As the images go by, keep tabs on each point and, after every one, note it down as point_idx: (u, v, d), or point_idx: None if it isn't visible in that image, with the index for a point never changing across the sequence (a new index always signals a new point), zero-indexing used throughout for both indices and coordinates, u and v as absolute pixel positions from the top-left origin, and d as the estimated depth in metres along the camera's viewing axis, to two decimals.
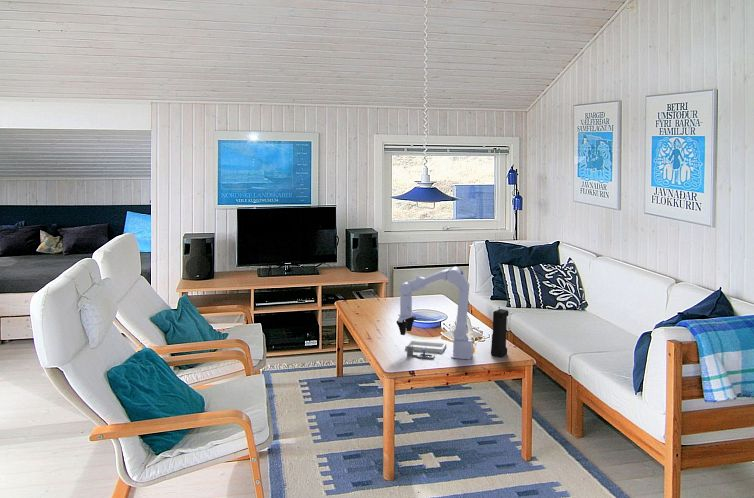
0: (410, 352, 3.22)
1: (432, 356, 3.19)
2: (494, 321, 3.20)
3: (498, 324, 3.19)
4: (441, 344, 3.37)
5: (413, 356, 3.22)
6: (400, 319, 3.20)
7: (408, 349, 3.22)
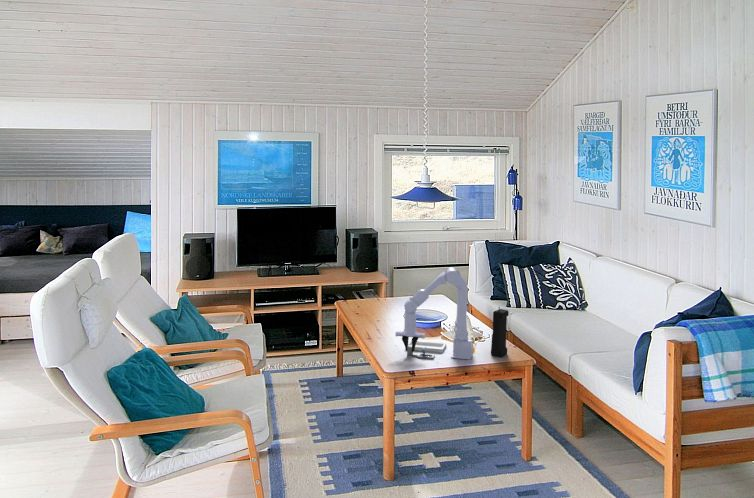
0: (410, 352, 3.22)
1: (432, 356, 3.19)
2: (494, 321, 3.20)
3: (498, 324, 3.19)
4: (441, 344, 3.37)
5: (413, 356, 3.22)
6: None
7: (408, 349, 3.22)
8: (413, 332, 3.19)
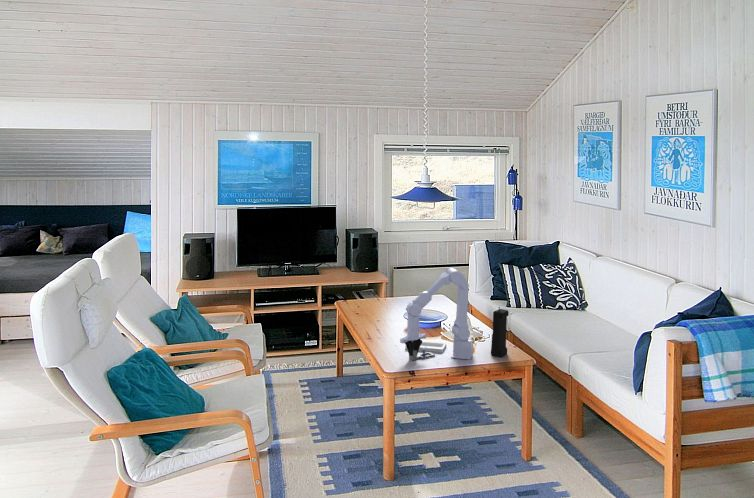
0: (415, 355, 3.17)
1: (432, 353, 3.24)
2: (494, 321, 3.20)
3: (498, 324, 3.19)
4: (441, 344, 3.37)
5: None
6: (401, 340, 3.12)
7: (414, 353, 3.16)
8: (419, 334, 3.15)
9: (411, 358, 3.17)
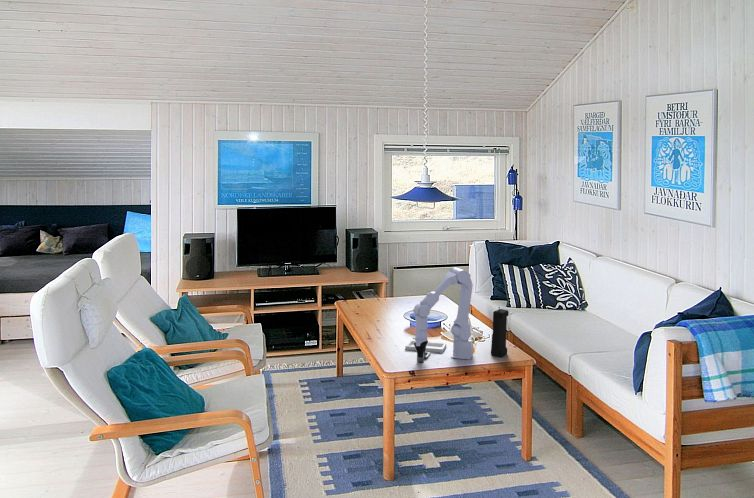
0: (423, 356, 3.15)
1: (427, 352, 3.25)
2: (494, 321, 3.20)
3: (498, 324, 3.19)
4: (441, 344, 3.37)
5: None
6: (418, 343, 3.06)
7: (423, 354, 3.14)
8: None
9: (420, 360, 3.14)
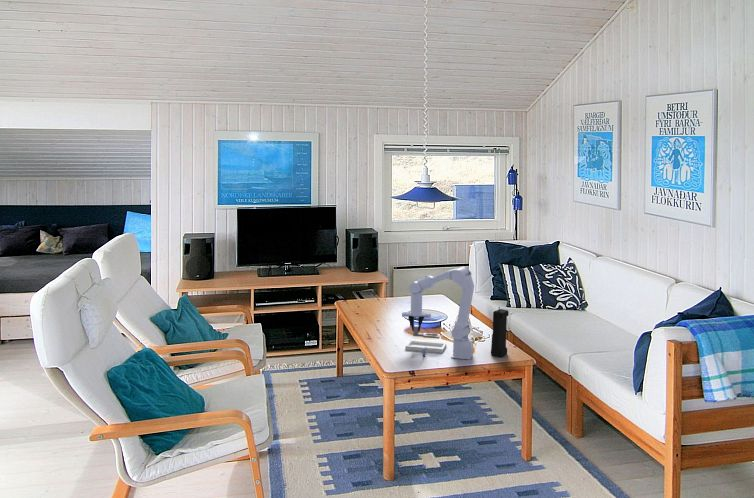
0: (416, 331, 3.32)
1: (438, 335, 3.31)
2: (494, 321, 3.20)
3: (498, 324, 3.19)
4: (441, 344, 3.37)
5: (419, 335, 3.33)
6: (402, 313, 3.33)
7: (415, 329, 3.32)
8: (419, 312, 3.30)
9: None
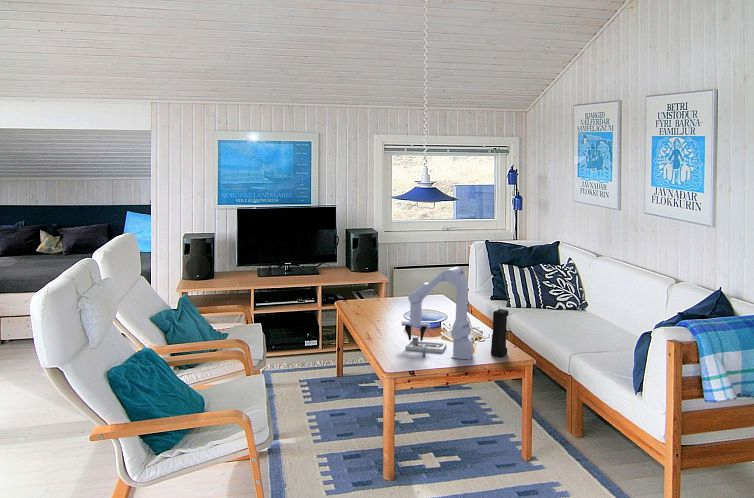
0: (415, 343, 3.35)
1: (436, 346, 3.33)
2: (494, 321, 3.20)
3: (498, 324, 3.19)
4: (441, 344, 3.37)
5: (418, 346, 3.36)
6: None
7: (413, 340, 3.35)
8: (419, 322, 3.32)
9: None
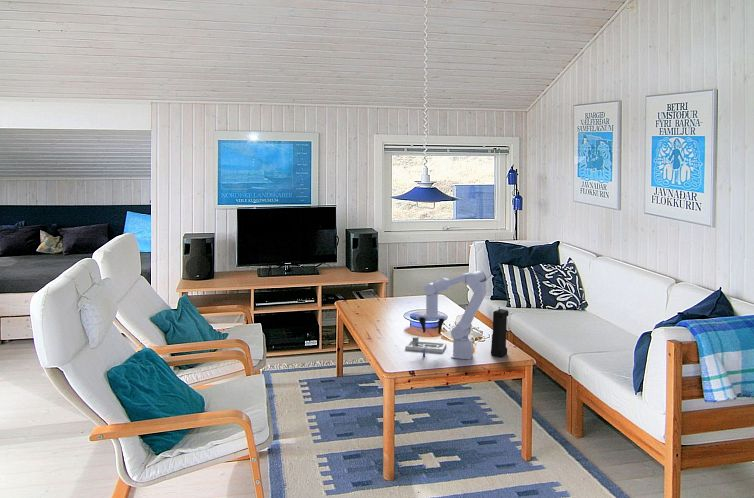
0: (415, 343, 3.35)
1: (436, 346, 3.33)
2: (494, 321, 3.20)
3: (498, 324, 3.19)
4: (441, 344, 3.37)
5: (418, 346, 3.36)
6: (417, 315, 3.31)
7: (413, 340, 3.35)
8: (435, 314, 3.26)
9: None
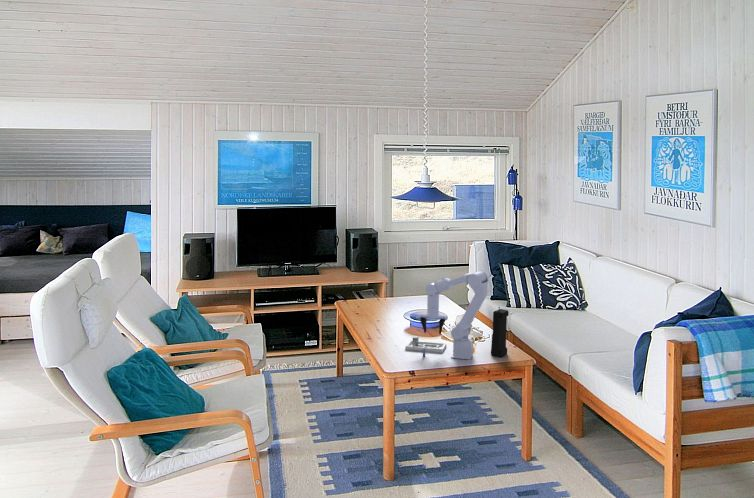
0: (415, 343, 3.35)
1: (436, 346, 3.33)
2: (494, 321, 3.20)
3: (498, 324, 3.19)
4: (441, 344, 3.37)
5: (418, 346, 3.36)
6: None
7: (413, 340, 3.35)
8: (436, 314, 3.26)
9: None
